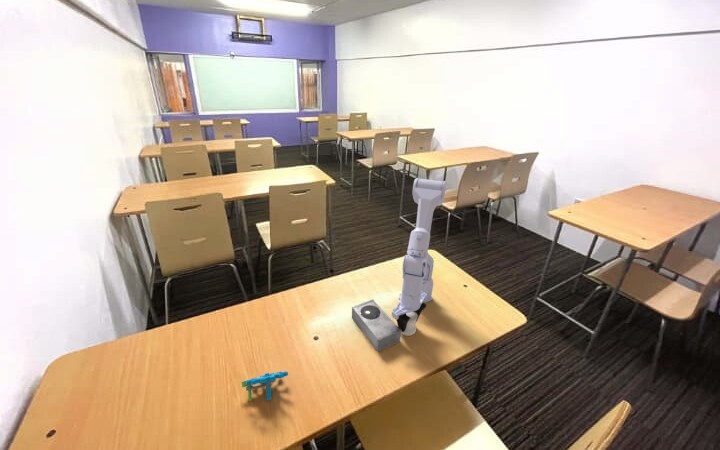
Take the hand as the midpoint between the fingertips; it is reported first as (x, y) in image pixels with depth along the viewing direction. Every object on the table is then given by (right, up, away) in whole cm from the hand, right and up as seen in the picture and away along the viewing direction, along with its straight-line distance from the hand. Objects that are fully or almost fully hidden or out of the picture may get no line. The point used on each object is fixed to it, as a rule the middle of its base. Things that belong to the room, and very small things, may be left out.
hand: (407, 325), depth 95 cm
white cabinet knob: (0, -1, +1) cm, 2 cm away
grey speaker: (-10, -1, 0) cm, 10 cm away
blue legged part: (-39, -10, -19) cm, 44 cm away
